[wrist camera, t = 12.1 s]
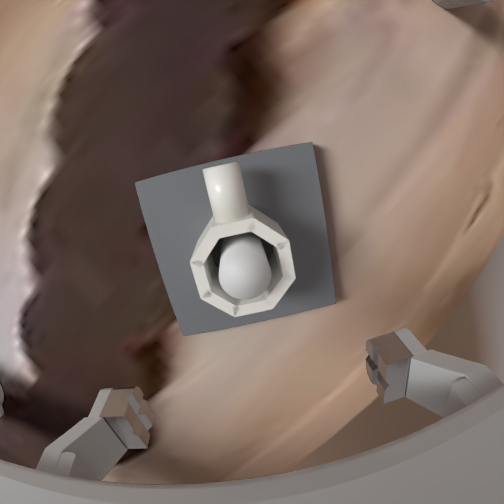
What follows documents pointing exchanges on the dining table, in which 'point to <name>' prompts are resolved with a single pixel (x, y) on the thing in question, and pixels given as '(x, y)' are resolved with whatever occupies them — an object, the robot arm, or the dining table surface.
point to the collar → (232, 223)
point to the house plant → (458, 3)
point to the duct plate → (266, 194)
